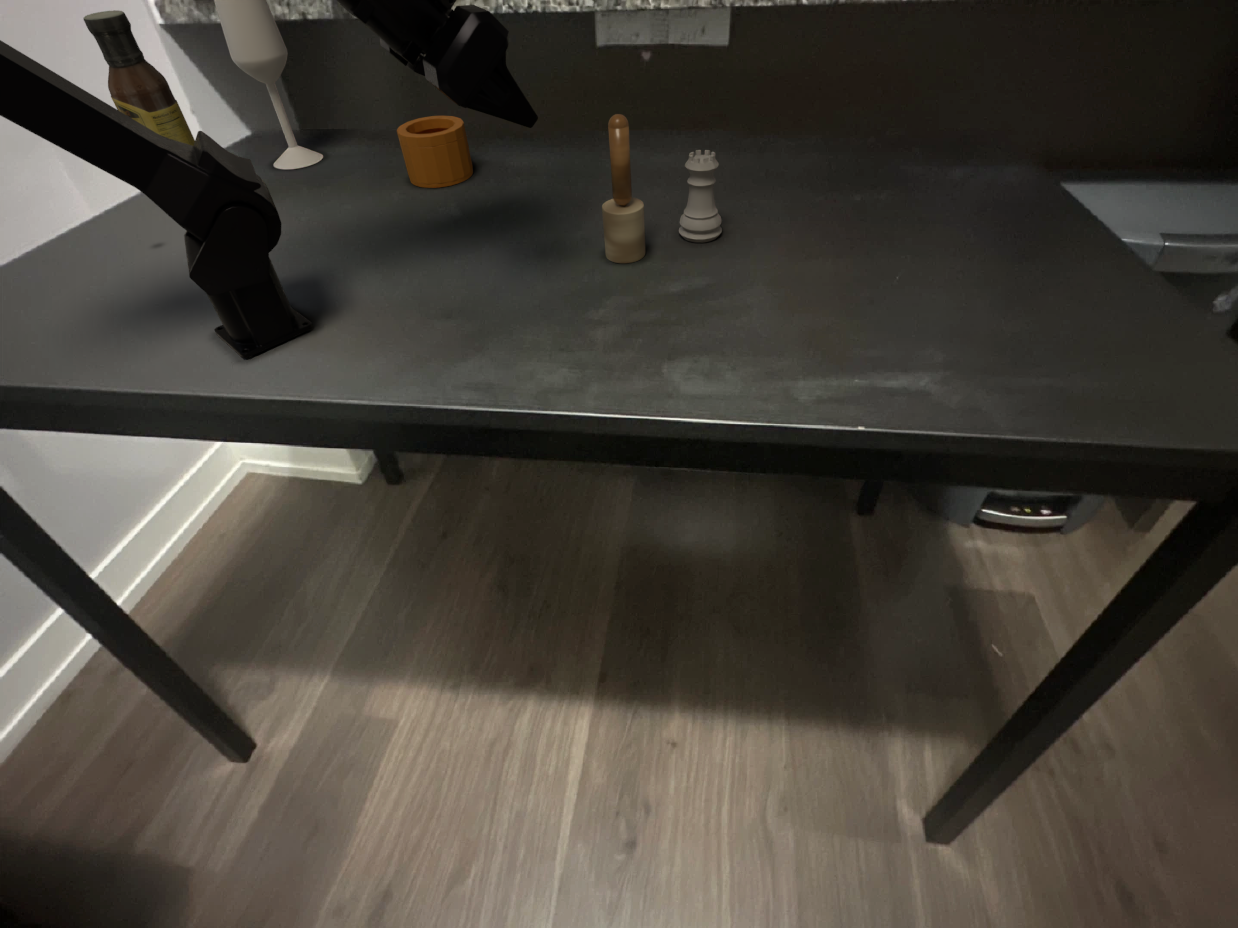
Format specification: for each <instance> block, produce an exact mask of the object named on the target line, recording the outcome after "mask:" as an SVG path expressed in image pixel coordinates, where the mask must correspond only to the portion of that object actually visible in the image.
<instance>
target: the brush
mask: <svg viewBox="0 0 1238 928" xmlns="http://www.w3.org/2000/svg"><path fill="white" fill-rule="evenodd" d="M607 123H608V124H607V126H608V127H607V130H608V142H609V143H608V144H609V145H608V146H609V158H610V176H611V187H612V188H611V191H612V198H611V199H608V200H605V202H604V203H603V204H602V205H601V211H602V212H601V214H602V215H601V216H602V224H603V225H602V226H603V238H604V241H603V242H604V254H605V258H606V259H607V260H608V261H609V262H612V263H616V264H632V263H635V262H638V261H640V260H642V259H643V258H644V257H645V255H646V229H645V227H646V225H645V204H644V201H642V200H641V199H640V198H637V197H633V193H632V192H633V189H632V168H631V147H630V145H631V144H630V124H629V121H628V119H627V117H626V116H625V115H623V114H621V113H615V114H613V115H612V116H611V117H610V118H609V120H608V122H607Z"/></svg>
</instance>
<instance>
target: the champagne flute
mask: <svg viewBox="0 0 1238 928" xmlns="http://www.w3.org/2000/svg"><path fill="white" fill-rule="evenodd" d="M213 3H214V5H215V10H216V13H217V17H218V19H219V22H220V25H221V29H222V33H223V36H224V39H225V43H226V45H227V46H226V47H227V49H228V52H229V56H230V58H231V60H232V62H233V64H235V65H236V66H237V67H238V68H239V69H240V70H241V71H242V72H243V73H245V74H246V75H248V76H250V77H251V78H253V79H254V80H255V81H257V82H260V83H261V84H264V85H265V86H266V89H267V92H268V95H269V97H270V100H271V103H272V105H273V108H274V111H275V113H276V116H277V119H278V122H279V125H280V127H281V130H282V132H283V136H284V138H285V141H286V143H287V146H288V147H287V148H286V150H284V151H283V152H282V154H280V156H279V157H278V158H277V159H276V160H275V161H274V162H273V164H272V165H273V167H274V168H275V169H278V170H296V169H302V168H306V167H310V166H313V165H315V164H317V163H319V162H320V161H322V159H324V155H323V154H322V153H320V152H317V151H315V150H312V149H309V148H306V147H303V146H301V145H298V142H297V140H296V137H295V135H294V131H293V129H292V125H291V123H290V120H289V117H288V115H287V112H286V109H285V107H284V104H283V101H282V98H281V95H280V93H279V89H278V87H277V84H276V82H277V81H278V80H279V79H280V77H281V75H282V73H283V71H284V69H285V67H286V65H287V61H288V54H289V53H288V48H287V46H286V44H285V41H284V39H283V37H282V34H281V32H280V29H279V27H278V24H277V23H276V20H275V18H274V15H273V13H272V11H271V8H270V6H269V4H268V1H267V0H213Z"/></svg>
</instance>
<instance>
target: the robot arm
mask: <svg viewBox="0 0 1238 928" xmlns="http://www.w3.org/2000/svg"><path fill="white" fill-rule="evenodd" d="M336 2H337V3H339V5H340V7H342V8H344V10H346V12H348V13H349V14H350V15H352V16H353V17H355V19H357V20H359V22H361V23H362V24H363V25H364V26H365V27H367V28H368V29H369V30H370V31H371V32H373V34H374V35H376V36H377V37H378V38H379V43H380V46H381V47H382V48H383V49H384V50H385V51H386V52H388V53H389V54H390V55H391V56H393V58H395V59H396V60H397V61H398V62H399V63H401V64H402V65H404V66H405V67H407V68H408V69H410V70H411V71H413V72H414V73H415V74H418V75H420V76H423V77H425V80H426V81H428V82H429V83H430V84H431V85H432V86H433V87H434V88H435V89H437V90H438V91H439V92H440V93H442V94H443V95H444V96H445V97H447V99H448V100H450V101H452V102H453V103H454V104H455V105H457V106H458V107H461V108H464V109H470V110H473V111H476V112H479V113H482V114H486V115H489V116H492V117H495V118H498V119H501V120H505V121H506V122H507V121H508V122H510V123H512V124H513V123H514V124H516V125H519V126H523V127H525V128H528V129H532V128H533V127H534V126H535V125H536V123H537V121H538V120H539V115H538V114H537V113H536V111H535V110H534V107H532V105H531V102H530V101H529V100H528V99H527V97H526V96H525V94H524V92H523V91H522V89H521V87H520V86H519V85H518V83H517V81H516V80H515V78H514V76H513V74H512V73H511V71H510V70H509V68H508V65H507V51H508V47H509V39H508V38H509V32H510V30H508V29H507V28H506V26H504V24H503V23H502V22H501V21H500V20H499V19H497V18H496V16H495V15H493V13H492V12H491V11H490V10H487V9H485V8H483V7H480V6H478V5H475V4H464V5H456V6H455V8H454V9H452V8H453V6H454V5H455V4H456V2H457V0H336ZM0 117H2V118H4V119H5V120H8V121H9V122H11V123H13V124H15V125H17V126H19V127H21V128H22V129H24V130H26V131H28V132H30V133H32V134H34V135H35V136H38V137H39V138H42V139H43V140H45V141H47V142H49V143H50V144H53V145H54V146H57V147H59V148H60V149H62V150H64V151H65V152H67V153H70V154H72V155H74V156H75V157H77V158H78V159H81V160H83V161H84V162H86V163H88V164H90V165H92V166H94V167H96V168H98V169H100V170H101V171H103V172H105V173H107V174H109V175H111V176H113V177H114V178H117V179H118V180H120V181H122V182H124V183H126V184H128V185H130V186H132V187H133V188H135V189H137V190H138V191H139V192H141V193H142V194H143V195H145V196H146V197H147V198H148V199H149V200H151V202H153V203H154V204H155V205H156V206H157V207H158V208H159V209H161V210H162V211H163V212H164V214H166V215H167V216H169V217H170V218H171V219H172V220H173V221H174V222H175V223H176V224H177V225H179V226H180V227H181V228H182V229H184V230H185V232H184V235H183V239H184V246H185V253H186V261H187V262H186V263H187V269H188V275H189V279H190V280H191V281H192V282H194V284H196V285H197V286H198V287H199V288H200V289H201V290H202V291H203V292H204V293H205V294H206V295H207V297H208V299H209V302H210V303H211V305H212V308H213V309H214V310H215V313H216V315H217V316H218V319H219V320H220V322H221V324H220V325H218V326H216V327H215V328H214V329H213V330H214V332H215V334H216V336H218V337H219V338H220V339H221V341H223V342H224V343H225V344H226V345H228V346H229V348H230V349H231V350H233V351H234V352H235V353H236V354H237V355H239V356H240V357H241V358H243V359H248V358H250V357H253V356H254V355H257V354H259V353H262V352H264V351H266V350H268V349H271V348H272V347H273V348H274V347H275V346H277V345H279V344H281V343H283V342H286V341H288V340H291V339H293V338H295V337H297V336H299V335H301V334H304V333H306V332H309V331H311V330H312V329H313V328H314V326H313V324H312V322H311V320H309V319H308V318H306V317H305V316H304V315H302V314H301V313H300V312H298V311H297V310H296V309H294V308H293V307H292V306H291V304H290V302H289V299H288V296H287V294H286V292H285V290H284V287H283V286H282V283H281V280H280V279H279V276H278V274H277V272H276V269H275V268H274V265H273V263H272V260H271V258H270V253H271V252H272V251H273V250H274V248H276V246H277V245H278V243H279V241H280V238H281V236H282V220H281V217H280V214H279V211H278V209H277V207H276V203H275V202H274V200H273V197H272V195H271V193H270V190H269V187H268V186H267V184H266V182H265V180H263V178H262V177H260V175H258V174H257V172H256V170H255V167H254V165H253V162H252V160H251V159H249V158H247V157H242V156H239V155H236V154H234V153H232V152H230V151H228V150H227V149H225V147H223V146H222V145H220V143H218V142H217V141H215V140H214V139H213V138H212V137H211V136H209V135H208V134H207V133H205V132H204V131H202V130H198V131H197V133H196V136H195V138H194V140H195V143H194V146H192V145H189V144H186V143H182V142H179V141H176V140H172V139H169V138H166V137H164V136H161V135H159V134H157V133H155V132H154V131H152V130H150V129H149V128H147V127H145V126H144V125H142V124H140V123H139V122H137V121H135V120H134V119H132V118H130V117H129V116H127V115H125V114H123V113H122V112H120V111H118V110H117V108H116V107H113V106H111V104H108V103H106V102H105V101H104V100H102V99H100V98H98V97H97V96H95V95H93V94H92V93H90V92H88V91H86V90H85V89H84V88H82V87H79V86H78V85H77V84H75V83H74V82H71V81H70V80H68V79H66V78H65V77H63V76H61V75H60V74H58V73H56V72H55V71H53V70H51V69H50V68H48V67H46V66H45V65H43V64H41V63H40V62H38V61H37V60H35V59H33V58H31V57H29V56H27V54H24V53H23V52H21V51H20V50H18V49H16V48H14V47H12V46H11V45H10V44H7V43H6V42H5V41H2V40H1V39H0Z"/></svg>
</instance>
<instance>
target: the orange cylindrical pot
mask: <svg viewBox="0 0 1238 928" xmlns="http://www.w3.org/2000/svg"><path fill="white" fill-rule="evenodd" d="M396 134H397V138H398V140H399V145H400V150H401V153H402V156H403V160H404V165H405V168H406V173H407V176H408V178H409V181H410V183H411V184H412V185H413V186H415V187H419V188H423V189H438V188H439V189H440V188H446V187H451V186H454V185H457V184H460V183H463V182H465V181H467V180H469V179H470V178H471V177H472V176H473V173H474V169H473V168H474V167H473V161H472V156H471V151H470V147H469V142H468V137H467V132H466V126H465V122H464V121H463V119H462V118H460V117H457V116H454V115H432V116H431V115H430V116H424V117H419V118H414V119H412V120H408V121H406V122H405V123H403V124H400V125H399V126H398V127H397V129H396Z"/></svg>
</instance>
